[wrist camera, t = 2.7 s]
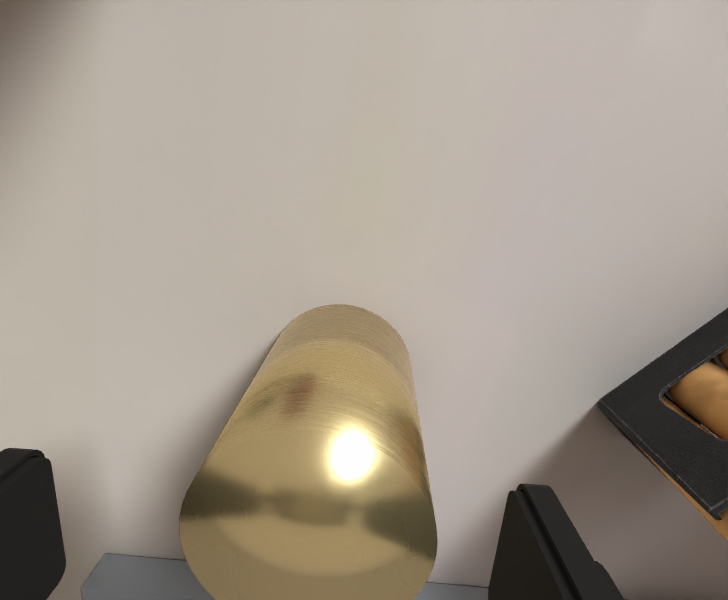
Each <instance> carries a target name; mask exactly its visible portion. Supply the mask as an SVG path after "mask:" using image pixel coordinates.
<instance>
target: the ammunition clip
mask: <svg viewBox="0 0 728 600" xmlns="http://www.w3.org/2000/svg"><path fill="white" fill-rule="evenodd" d="M598 408H599V409H600V410H601V411H602V412H603V413H604V414H605V416H606V417H607V418H608V419H609V420H610V421H611V422H612V423H613V424H614V425H615V427H616V428H617V429H618V430H619V431H620V432H621V433H622V434H623V435H624V436H625V437H626V439H627V440H629V441H630V442H631V443H632V444H633V445H634V446H635V447H636V448H637V449H638V450H639V451H640V452H641V453H642V454H643V455H644V456H645V457H646V458H647V459H648V460H649V461H650V462H651V463H652V464H653V465H654V466H655V467H656V468H657V469H658V470H659V471H661V472H662V473H663V474H664V475H665V476H666V477H667V478H668V479H669V480H670V481H671V482H672V483H673V484H674V485H675V486H676V487H677V488H678V489H679V490H680V491H681V492H682V494H683V495H684V496H685V497H686V498H687V499H688V500H689V501H690V502H691V503H692V504H693V505H694V506H695V507H696V508H697V510H698V511H699V512H700V513H701V514H702V515H703V516H704V517H705V518H706V519H707V520H708V521H709V522H710V523H711V524H712V525H713V527H714V528H715V529H716V530H717V531H718V532H719V533H720V534H721V535H722V536H723V537H724V538H725V539H726V540H727V541H728V308H727V309H726V310H724V311H723V312H721V313H720V314H719V315H717V316H716V317H714V318H713V319H712V320H710V321H709V322H707V323H706V324H705V325H703V326H702V327H700V328H699V329H698V330H696V331H695V332H693V333H692V334H691V335H689V336H688V337H686V338H685V339H684V340H682V341H681V342H679V343H678V344H677V345H675V346H674V347H672V348H671V349H670V350H668V351H667V352H665V353H664V354H663V355H661V356H660V357H658V358H657V359H656V360H654V361H653V362H651V363H650V364H649V365H647V366H646V367H644V368H643V369H642V370H640V371H639V372H637V373H636V374H635V375H633V376H632V377H630V378H629V379H628V380H626V381H625V382H623V383H622V384H621V385H619V386H618V387H616V388H615V389H614V390H612V391H611V392H609V393H608V394H606V395H605V396H604V397H602V398H601V399H600V400H599V404H598ZM700 424H702V425H704V426H705V427H706V428H708V429H709V430H710V431H711V432H713V433H714V434H715V435H716V436H718V437H719V438H720V439H722V440H720V439H718V438H716V437H714V436H713V435H712V434H710V433H709V432H708V431H707V430H705V429H704V428H703V427H702V426H701V425H700Z"/></svg>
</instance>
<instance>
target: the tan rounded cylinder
mask: <svg viewBox="0 0 728 600" xmlns="http://www.w3.org/2000/svg"><path fill="white" fill-rule="evenodd" d="M179 533H180V540H181V545H182V549H183V552H184V555H185V558H186V560H187V562H188V564H189V566H190V569H191V570H192V572H193V573H194V575H195V576H196V578H197V580H198V581H199V582H200V583H201V585H202V586H203V587H204V588H205V589H206V590H207V592H208V593H209V594H210V595H212V596H213V597H214V598H215V599H216V600H413V599H414V598H415V597H416V596H417V594H418V593H419V592H420V591H421V589H422V588H423V586H424V585H425V583H426V582H427V580H428V578H429V576H430V573H431V571H432V569H433V566H434V562H435V558H436V553H437V531H436V523H435V516H434V510H433V504H432V497H431V491H430V485H429V478H428V472H427V466H426V459H425V453H424V447H423V440H422V434H421V427H420V421H419V415H418V408H417V402H416V396H415V389H414V383H413V377H412V370H411V364H410V359H409V355H408V351H407V349H406V346H405V344H404V342H403V340H402V339H401V337H400V336H399V334H398V333H397V332H396V330H395V329H394V328H393V327H392V326H391V325H390V324H389V323H388V322H386V321H385V320H384V319H382V318H381V317H379V316H378V315H376V314H374V313H372V312H370V311H368V310H365V309H363V308H359V307H355V306H349V305H327V306H322V307H318V308H314V309H312V310H309V311H307V312H305V313H303V314H301V315H299V316H298V317H297V318H295V319H294V320H292V321H291V322H290V323H289V324H288V325H287V326H286V327H285V329H284V330H283V331H282V332H281V334H280V335H279V337H278V339H277V340H276V342H275V344H274V345H273V347H272V349H271V350H270V352H269V354H268V355H267V357H266V359H265V360H264V362H263V364H262V366H261V367H260V369H259V371H258V372H257V374H256V376H255V377H254V379H253V381H252V382H251V384H250V386H249V387H248V389H247V391H246V392H245V394H244V396H243V397H242V399H241V401H240V403H239V404H238V406H237V408H236V409H235V411H234V413H233V414H232V416H231V418H230V419H229V421H228V423H227V424H226V426H225V428H224V429H223V431H222V433H221V435H220V436H219V438H218V440H217V441H216V443H215V445H214V446H213V448H212V450H211V451H210V453H209V455H208V456H207V458H206V460H205V461H204V463H203V465H202V466H201V468H200V470H199V472H198V473H197V475H196V477H195V478H194V480H193V482H192V483H191V485H190V487H189V489H188V490H187V492H186V495H185V498H184V501H183V503H182V507H181V513H180V519H179Z"/></svg>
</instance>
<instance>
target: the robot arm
mask: <svg viewBox="0 0 728 600" xmlns="http://www.w3.org/2000/svg"><path fill="white" fill-rule="evenodd" d="M65 566H66V559H65V552H64V545H63V539H62V532H61V525H60V519H59V512H58V506H57V499H56V492H55V486H54V479H53V472H52V466H51V462H50V460H49V459H46V458H45V456H44V454H43V453H42V452H41V451H39V450H32V449H18V448H8V449H4V450H3V451H1V452H0V600H46V599H47V598H48V597H49V595H50V594H51V593H52V591H53V590H54V589H55V587H56V586H57V585H58V583H59V582H60V580H61V578H62V576H63V574H64V571H65ZM488 600H624V599H623V597H622V595H621V594H620V592H619V590H618V589H617V587H616V585H615V584H614V582H613V580H612V579H611V577H610V575H609V574H608V573H607V571H606V570H605V569H604V567H603V566H602V565H601V564H599V563H598V562H597V561H594V559H593V558H592V556H591V554H590V553H589V551H588V549H587V548H586V546H585V544H584V542H583V541H582V539H581V537H580V536H579V534H578V532H577V531H576V529H575V527H574V525H573V524H572V522H571V520H570V519H569V517H568V515H567V514H566V512H565V510H564V508H563V507H562V505H561V503H560V502H559V500H558V498H557V496H556V495H555V493H554V491H553V490H552V489H551V487H549V486H547V485H532V484H519V486H518V487H517V490H516V491H510V492H509V494H508V498H507V502H506V507H505V512H504V517H503V522H502V526H501V531H500V536H499V541H498V546H497V551H496V555H495V560H494V565H493V570H492V575H491V579H490V584H489V589H488Z"/></svg>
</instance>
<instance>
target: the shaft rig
mask: <svg viewBox="0 0 728 600" xmlns="http://www.w3.org/2000/svg"><path fill="white" fill-rule="evenodd" d="M488 589H489V588H483V587H472V586H461V585H450V584H439V583H428V582H426V583H425V585H424V586H423V588H422V589H421V591H420V592H419V593H418V594H417V596H416V597H415V598H414V599H413V600H488ZM81 593H82V600H216V599H215V598H214V597H213V596H212V595H210V594H209V593H208V592H207V590H206V589H205V588H204V587H203V586H202V585H201V583H200V582H199V581H198V580H197V578H196V576H195V575H194V573H193V572H192V570H191V569H190V566H189V564H188V562H187V561H183V560H172V559H161V558H150V557H139V556H128V555H116V554H105V555H104V556H103V557H102V559H101V560H100V562H99V563H98V564H97V566H96V567H95V569H94V570H93V572H92V573H91V574H90V576H89V577H88V579H87V580H86V581H85V583H84V584H83V586H82V587H81Z"/></svg>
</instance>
